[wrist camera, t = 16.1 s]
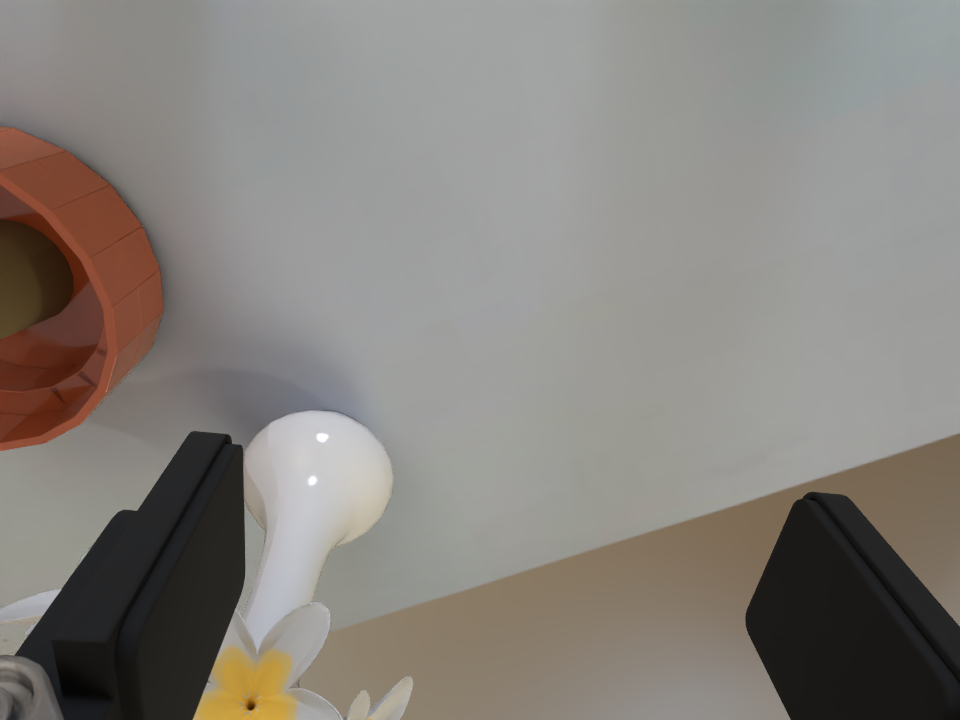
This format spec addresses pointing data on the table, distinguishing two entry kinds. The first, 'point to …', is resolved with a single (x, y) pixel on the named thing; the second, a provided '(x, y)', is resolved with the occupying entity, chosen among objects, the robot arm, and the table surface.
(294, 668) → the flower vase
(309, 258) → the table surface
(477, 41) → the table surface
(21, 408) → the orange plant pot
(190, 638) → the robot arm
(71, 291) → the olive peg figure
